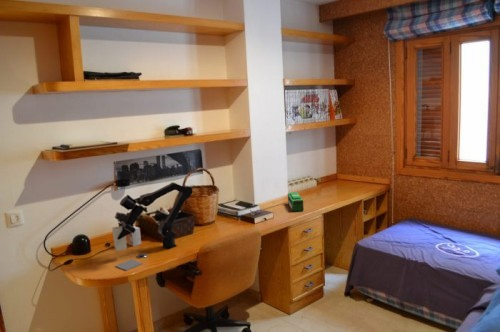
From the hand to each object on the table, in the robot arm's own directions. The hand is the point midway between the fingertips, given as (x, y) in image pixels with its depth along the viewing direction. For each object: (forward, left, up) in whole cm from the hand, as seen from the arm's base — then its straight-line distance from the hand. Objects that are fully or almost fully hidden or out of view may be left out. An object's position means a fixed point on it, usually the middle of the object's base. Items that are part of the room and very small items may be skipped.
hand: (116, 237), depth 223 cm
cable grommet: (-9, +8, -12) cm, 17 cm away
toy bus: (-134, +29, -13) cm, 138 cm away
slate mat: (+3, +13, -12) cm, 18 cm away
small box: (-19, -14, -13) cm, 27 cm away
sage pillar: (-1, 0, -7) cm, 7 cm away
